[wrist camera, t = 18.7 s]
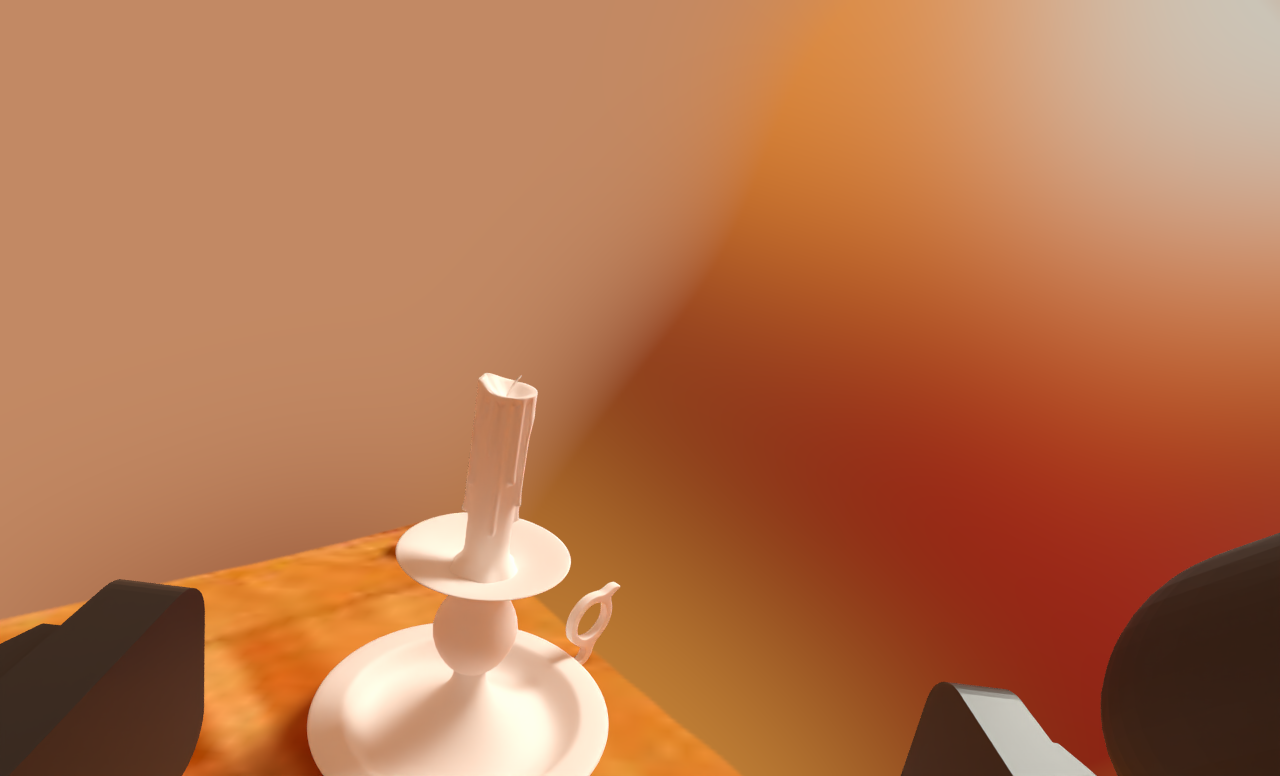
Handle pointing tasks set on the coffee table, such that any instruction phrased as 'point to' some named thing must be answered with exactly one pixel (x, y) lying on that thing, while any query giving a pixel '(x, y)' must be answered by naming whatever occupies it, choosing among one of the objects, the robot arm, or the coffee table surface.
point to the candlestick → (472, 640)
